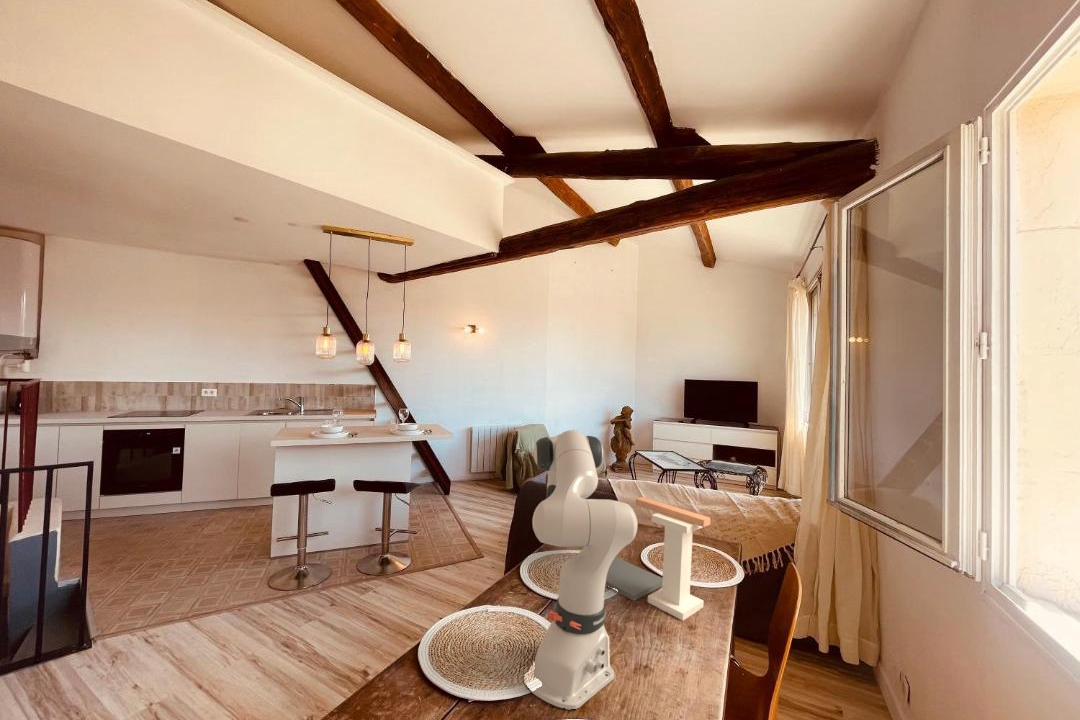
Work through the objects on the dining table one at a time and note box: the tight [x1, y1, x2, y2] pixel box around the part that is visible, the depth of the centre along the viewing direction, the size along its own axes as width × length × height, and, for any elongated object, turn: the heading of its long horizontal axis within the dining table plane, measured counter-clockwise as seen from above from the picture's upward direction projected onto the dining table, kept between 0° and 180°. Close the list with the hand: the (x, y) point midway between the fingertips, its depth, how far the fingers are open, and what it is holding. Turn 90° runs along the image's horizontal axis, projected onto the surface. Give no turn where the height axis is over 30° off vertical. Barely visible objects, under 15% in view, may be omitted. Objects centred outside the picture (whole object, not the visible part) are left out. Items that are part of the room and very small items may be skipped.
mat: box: [605, 556, 663, 602], centre depth 148 cm, size 26×18×2 cm
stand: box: [647, 512, 704, 621], centre depth 131 cm, size 12×12×27 cm
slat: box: [635, 496, 712, 528], centre depth 134 cm, size 24×4×2 cm, turn 41°
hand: (618, 510), depth 149 cm, fingers open, 8 cm apart
